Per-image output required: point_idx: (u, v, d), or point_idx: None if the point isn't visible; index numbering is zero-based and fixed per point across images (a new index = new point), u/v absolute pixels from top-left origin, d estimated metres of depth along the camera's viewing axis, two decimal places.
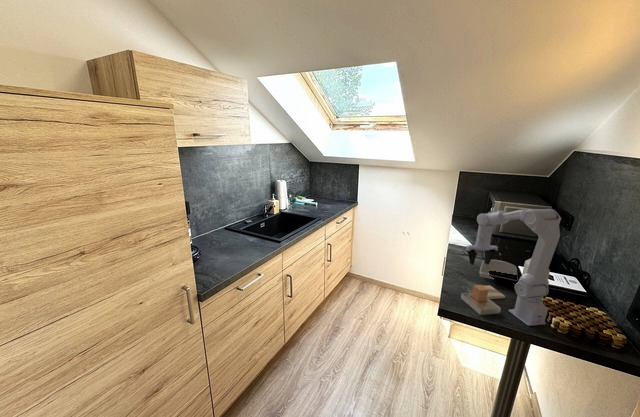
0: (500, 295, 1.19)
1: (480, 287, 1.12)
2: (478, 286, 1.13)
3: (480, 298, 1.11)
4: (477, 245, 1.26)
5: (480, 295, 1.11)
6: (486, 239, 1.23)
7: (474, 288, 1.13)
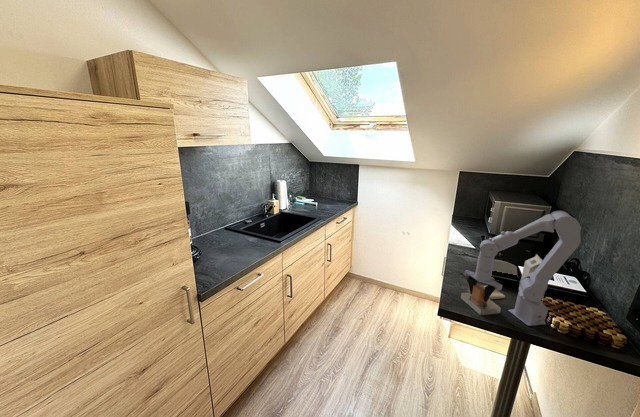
0: (500, 295, 1.19)
1: (480, 287, 1.12)
2: (478, 286, 1.13)
3: (480, 298, 1.11)
4: None
5: (480, 295, 1.11)
6: (492, 270, 1.08)
7: (474, 288, 1.13)
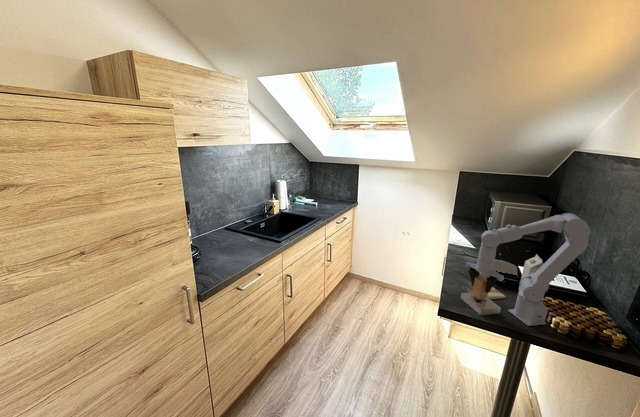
0: (500, 295, 1.19)
1: (482, 278, 1.11)
2: (480, 278, 1.12)
3: (482, 290, 1.10)
4: None
5: (481, 286, 1.09)
6: None
7: (476, 280, 1.12)
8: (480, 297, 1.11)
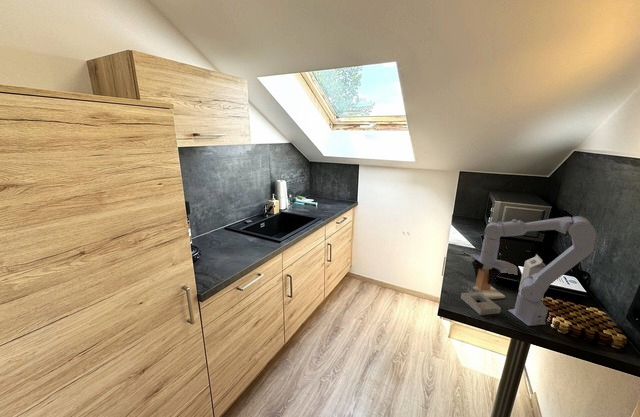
0: (500, 295, 1.19)
1: (485, 270, 1.12)
2: (483, 269, 1.13)
3: (484, 282, 1.11)
4: None
5: (484, 278, 1.11)
6: (497, 253, 1.07)
7: (479, 271, 1.13)
8: (482, 289, 1.12)
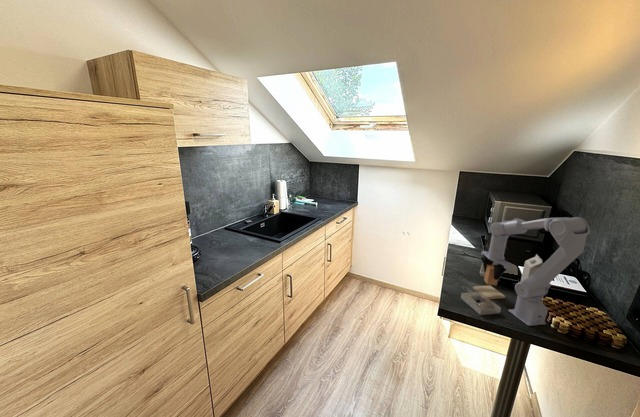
0: (500, 295, 1.19)
1: (493, 266, 1.19)
2: (491, 265, 1.20)
3: (490, 276, 1.18)
4: None
5: (490, 273, 1.18)
6: (501, 250, 1.14)
7: (487, 267, 1.21)
8: (489, 283, 1.19)
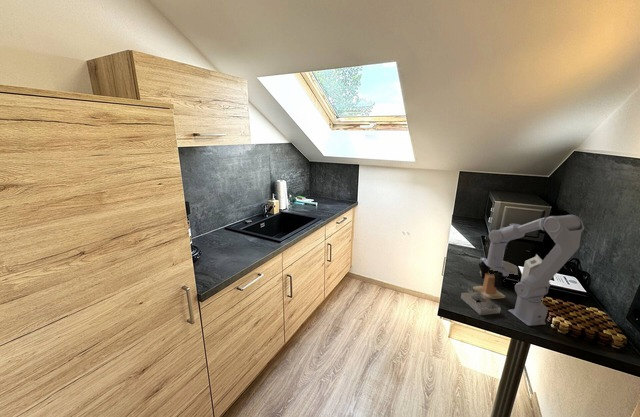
0: (500, 295, 1.19)
1: (492, 275, 1.20)
2: (490, 274, 1.21)
3: (489, 285, 1.19)
4: None
5: (488, 282, 1.19)
6: (499, 257, 1.15)
7: (485, 275, 1.22)
8: (487, 292, 1.20)
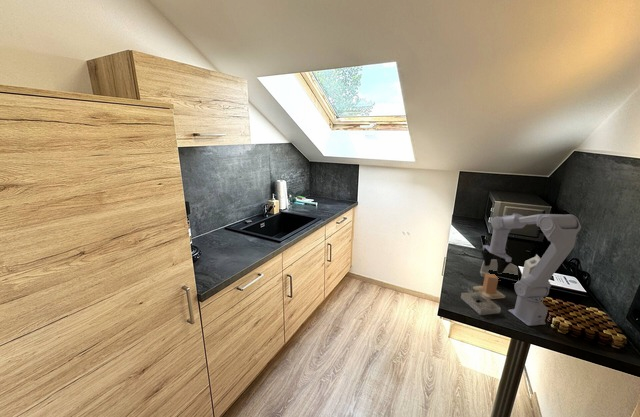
0: (500, 295, 1.19)
1: (492, 275, 1.20)
2: (490, 274, 1.21)
3: (489, 285, 1.19)
4: None
5: (488, 282, 1.19)
6: (501, 244, 1.17)
7: (485, 275, 1.22)
8: (487, 292, 1.20)
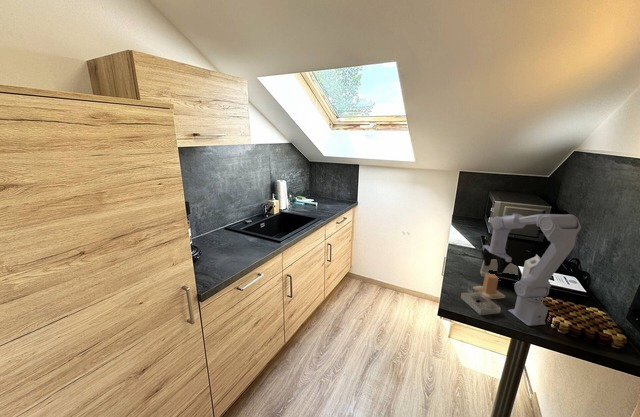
0: (500, 295, 1.19)
1: (492, 275, 1.20)
2: (490, 274, 1.21)
3: (489, 285, 1.19)
4: None
5: (488, 282, 1.19)
6: (501, 244, 1.17)
7: (485, 275, 1.22)
8: (487, 292, 1.20)
